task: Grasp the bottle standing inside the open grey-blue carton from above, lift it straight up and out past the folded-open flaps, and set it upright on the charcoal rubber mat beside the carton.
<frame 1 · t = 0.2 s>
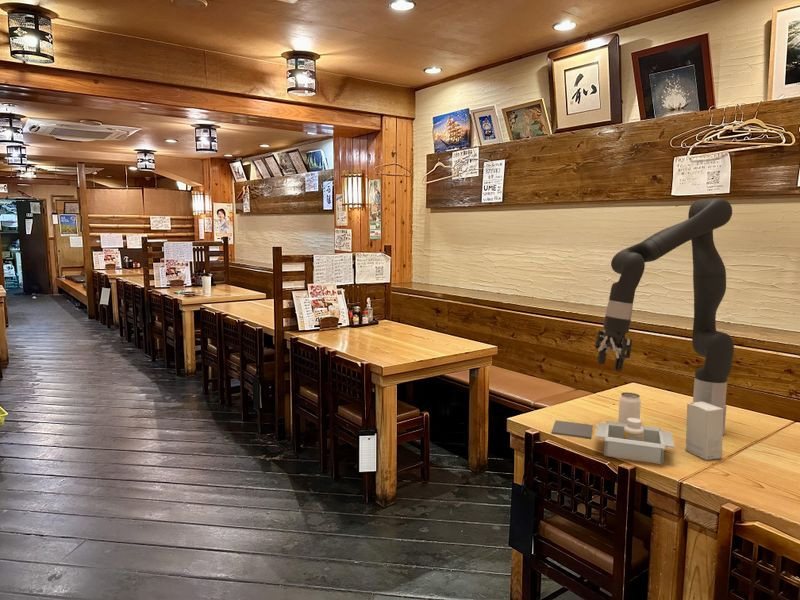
hand: (609, 367, 174), 23 cm above the table, tool pointing down, fingers open, 8 cm apart
skincare box: (702, 455, 163), on the table
supplement bottle: (632, 452, 164), resting in carton
mat: (572, 430, 182), on the table
can: (628, 430, 182), on the table
carton: (632, 451, 164), on the table
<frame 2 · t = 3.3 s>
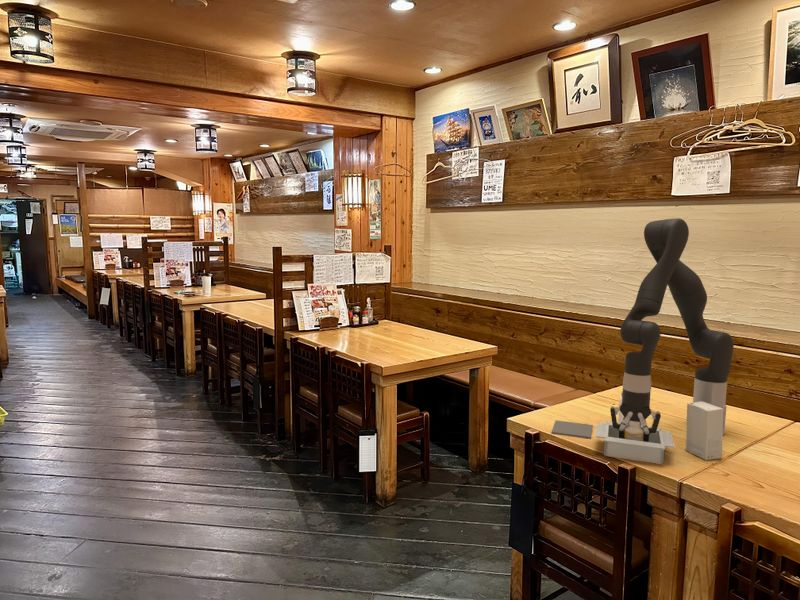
hand: (633, 443, 164), 3 cm above the table, tool pointing down, fingers closed on supplement bottle, 5 cm apart
supplement bottle: (632, 452, 164), resting in carton, touching gripper
everything else where it was.
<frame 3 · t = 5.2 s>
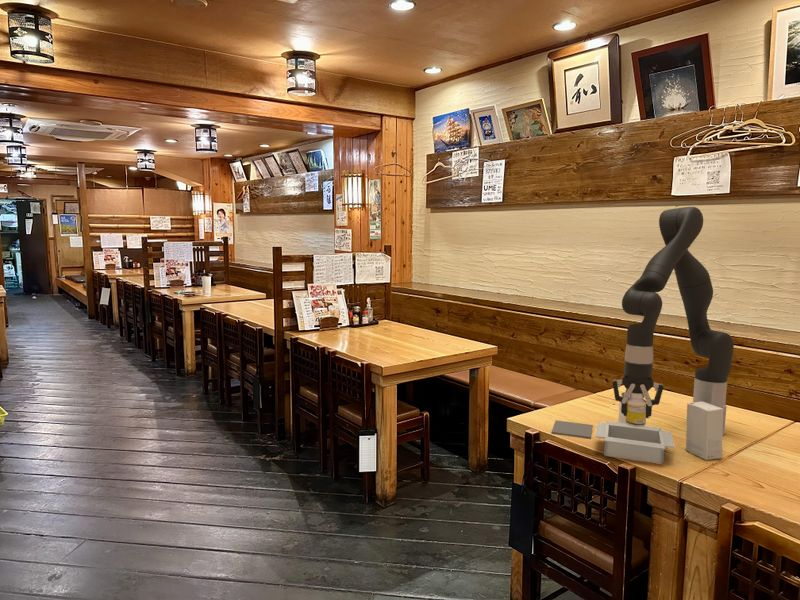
hand: (635, 416, 163), 11 cm above the table, tool pointing down, fingers closed on supplement bottle, 5 cm apart
supplement bottle: (635, 425, 163), point 8 cm above the table, touching gripper
everything else where it was.
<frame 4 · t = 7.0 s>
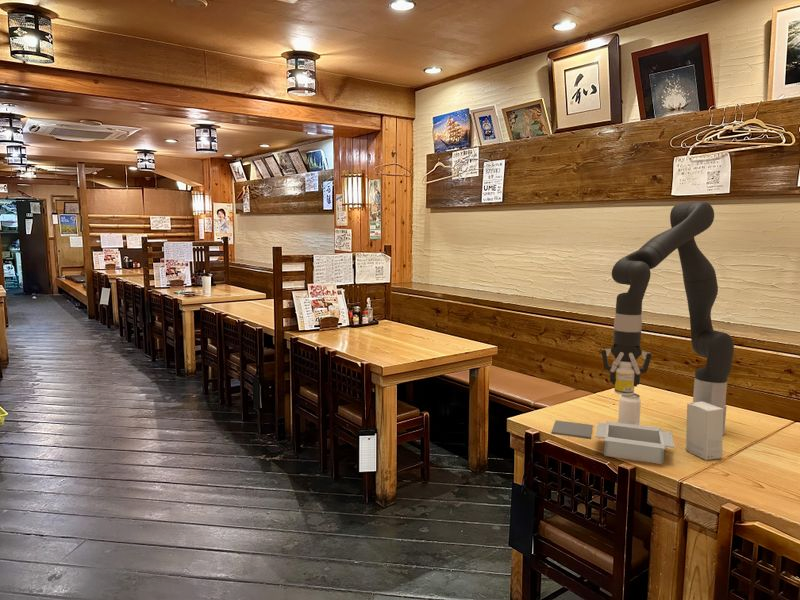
hand: (624, 384, 165), 19 cm above the table, tool pointing down, fingers closed on supplement bottle, 5 cm apart
supplement bottle: (623, 393, 165), point 17 cm above the table, touching gripper
everything else where it was.
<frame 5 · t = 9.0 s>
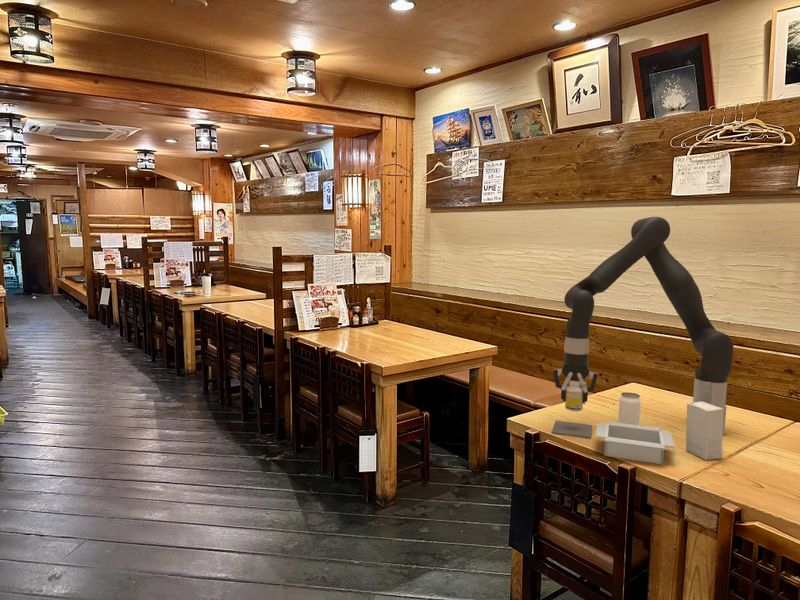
hand: (573, 401, 181), 10 cm above the table, tool pointing down, fingers closed on supplement bottle, 5 cm apart
supplement bottle: (573, 409, 181), point 7 cm above the table, touching gripper
everything else where it was.
when the fingers open (4 cm above the table, at t = 10.6 s): supplement bottle drops 1 cm, resting on mat.
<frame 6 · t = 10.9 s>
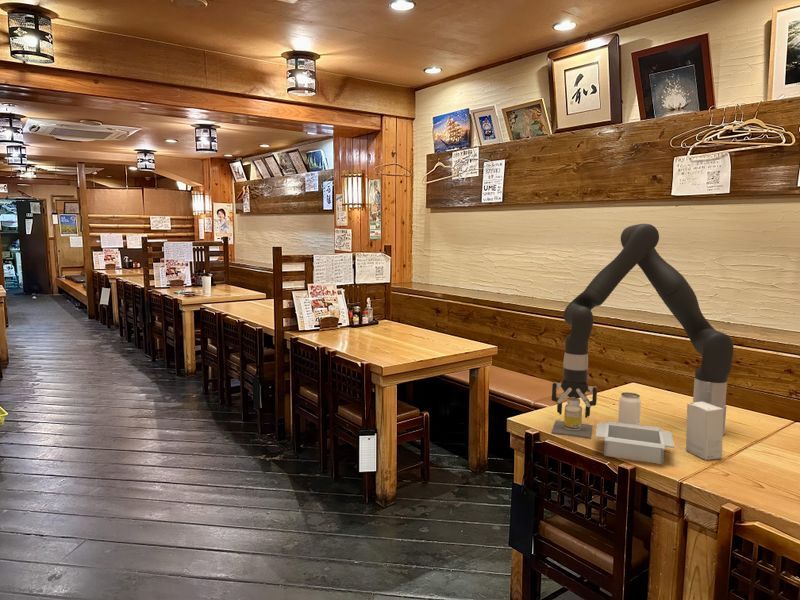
hand: (573, 415, 181), 5 cm above the table, tool pointing down, fingers open, 7 cm apart
supplement bottle: (572, 428, 182), resting on mat
everything else where it was.
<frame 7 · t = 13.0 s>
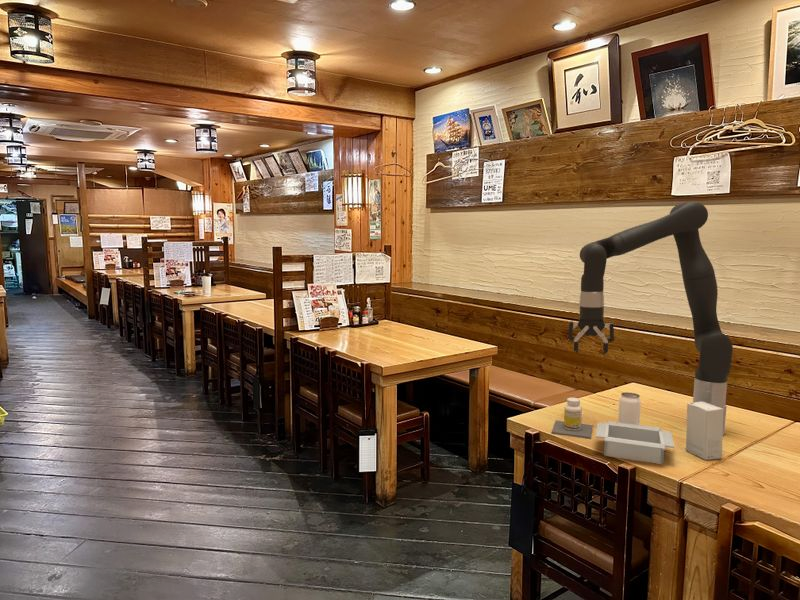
hand: (590, 353, 184), 24 cm above the table, tool pointing down, fingers open, 8 cm apart
nothing on the table moved.
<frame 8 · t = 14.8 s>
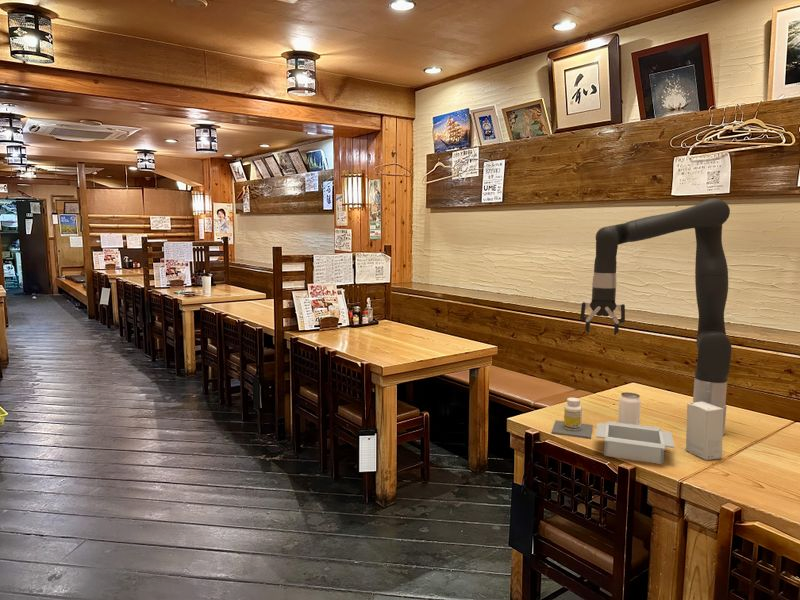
hand: (601, 333, 189), 30 cm above the table, tool pointing down, fingers open, 8 cm apart
nothing on the table moved.
at the end: supplement bottle inside the target area on the mat (0.1 cm from its centre), point 0.4 cm above the mat's base; supplement bottle tilted 0°; supplement bottle touching mat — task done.
